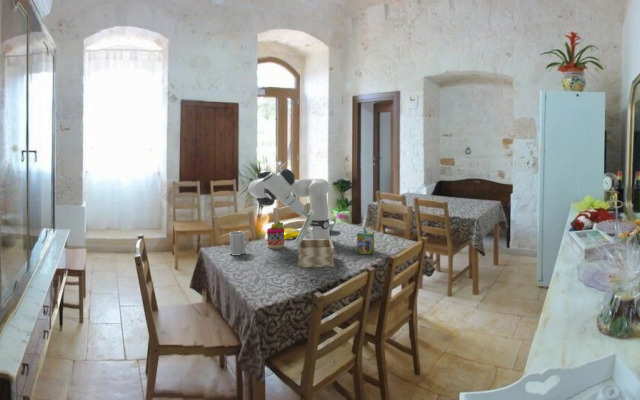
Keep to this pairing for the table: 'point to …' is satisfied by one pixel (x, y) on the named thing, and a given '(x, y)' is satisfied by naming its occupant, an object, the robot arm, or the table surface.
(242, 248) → the cup
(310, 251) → the birch box
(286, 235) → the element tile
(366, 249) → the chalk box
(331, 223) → the serving bowl
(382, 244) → the table surface
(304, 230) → the lid
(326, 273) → the table surface
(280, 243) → the cake
